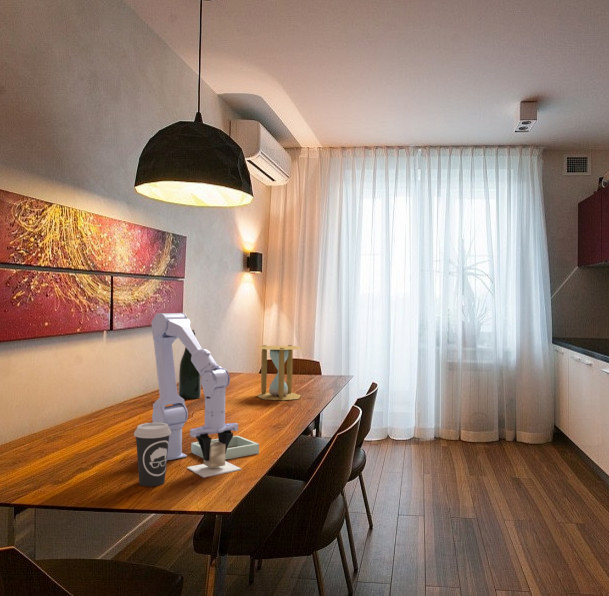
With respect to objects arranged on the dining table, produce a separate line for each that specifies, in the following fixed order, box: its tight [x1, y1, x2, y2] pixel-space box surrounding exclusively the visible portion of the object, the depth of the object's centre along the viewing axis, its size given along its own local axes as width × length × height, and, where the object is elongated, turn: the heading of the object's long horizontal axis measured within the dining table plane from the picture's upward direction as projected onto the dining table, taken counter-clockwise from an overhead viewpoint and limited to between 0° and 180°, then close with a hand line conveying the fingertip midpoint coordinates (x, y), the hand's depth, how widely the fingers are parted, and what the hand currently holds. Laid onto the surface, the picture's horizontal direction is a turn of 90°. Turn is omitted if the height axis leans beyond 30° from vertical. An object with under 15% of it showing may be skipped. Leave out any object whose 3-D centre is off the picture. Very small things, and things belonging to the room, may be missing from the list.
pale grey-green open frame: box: [190, 435, 260, 461], centre depth 180 cm, size 17×13×3 cm
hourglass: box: [256, 344, 303, 401], centre depth 281 cm, size 24×22×25 cm
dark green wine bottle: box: [178, 329, 202, 400], centre depth 275 cm, size 10×10×33 cm
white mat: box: [186, 460, 242, 478], centre depth 163 cm, size 12×10×1 cm
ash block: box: [202, 441, 226, 468], centre depth 163 cm, size 4×4×6 cm
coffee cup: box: [133, 422, 171, 487], centre depth 150 cm, size 10×10×15 cm
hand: (214, 458), depth 163 cm, fingers closed on ash block, 4 cm apart
